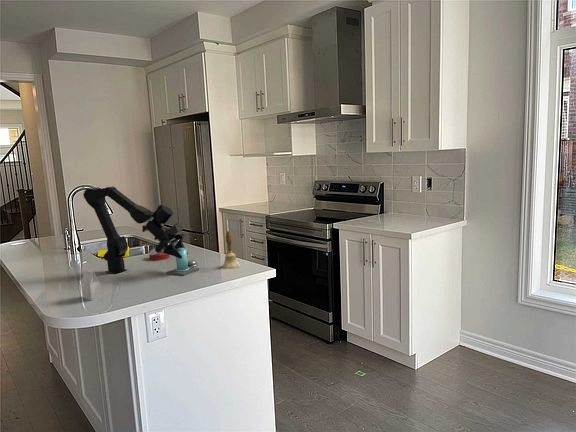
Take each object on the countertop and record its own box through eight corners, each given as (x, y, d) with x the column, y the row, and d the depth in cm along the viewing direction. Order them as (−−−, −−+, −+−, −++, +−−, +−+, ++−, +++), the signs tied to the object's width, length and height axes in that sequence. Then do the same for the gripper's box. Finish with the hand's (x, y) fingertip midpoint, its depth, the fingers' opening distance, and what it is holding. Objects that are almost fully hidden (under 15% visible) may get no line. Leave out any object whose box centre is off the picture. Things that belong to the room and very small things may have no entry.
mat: (183, 275, 187) (183, 273, 187) (166, 273, 192) (165, 272, 192) (199, 269, 196) (199, 268, 196) (181, 268, 200) (181, 266, 200)
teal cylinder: (180, 272, 190) (178, 250, 188) (173, 270, 194) (171, 249, 192) (191, 269, 193) (189, 248, 192) (185, 267, 197) (183, 246, 196)
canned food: (167, 268, 222) (165, 253, 216) (147, 267, 222) (144, 251, 216) (173, 253, 231) (171, 238, 225) (154, 252, 231) (151, 237, 225)
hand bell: (237, 268, 195) (234, 232, 193) (219, 268, 196) (216, 233, 194) (242, 263, 203) (240, 229, 201) (225, 263, 204) (223, 229, 202)
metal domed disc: (191, 268, 200) (191, 263, 200) (180, 267, 203) (180, 262, 203) (200, 264, 206) (200, 260, 205) (190, 263, 209) (189, 259, 208)
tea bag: (91, 300, 159) (88, 273, 158) (82, 297, 163) (79, 271, 162) (101, 297, 162) (98, 271, 161) (92, 295, 166) (89, 268, 165)
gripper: (159, 221, 182) (186, 247, 181) (179, 215, 200) (204, 239, 199) (143, 240, 185) (170, 266, 184) (164, 232, 203) (189, 256, 202)
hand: (184, 256), depth 192 cm, fingers open, 5 cm apart
